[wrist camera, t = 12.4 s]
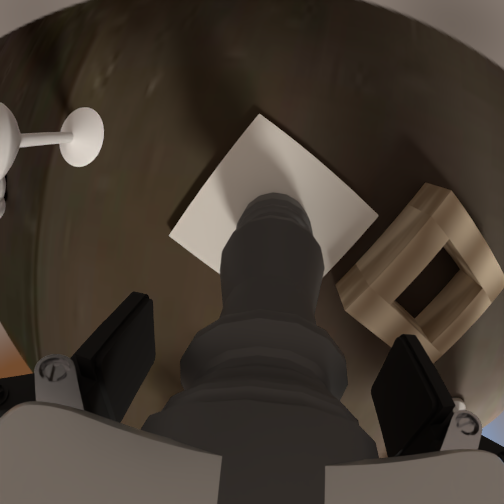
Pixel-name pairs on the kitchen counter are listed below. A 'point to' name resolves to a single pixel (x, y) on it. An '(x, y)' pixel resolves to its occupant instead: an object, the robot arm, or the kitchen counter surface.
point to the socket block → (411, 265)
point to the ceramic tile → (267, 181)
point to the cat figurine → (2, 196)
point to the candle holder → (267, 369)
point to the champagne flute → (54, 138)
